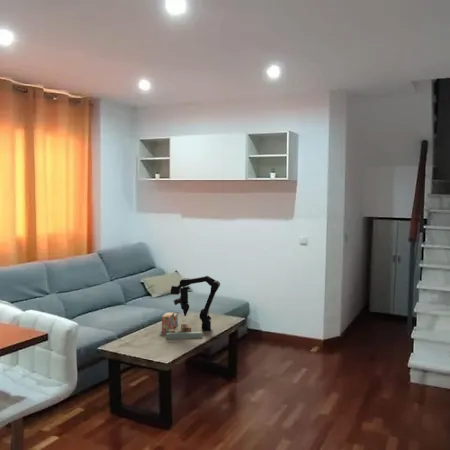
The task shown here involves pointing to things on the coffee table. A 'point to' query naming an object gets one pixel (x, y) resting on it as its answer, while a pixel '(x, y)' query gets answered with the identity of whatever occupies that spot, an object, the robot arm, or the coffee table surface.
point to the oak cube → (171, 331)
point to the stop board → (184, 335)
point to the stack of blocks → (169, 321)
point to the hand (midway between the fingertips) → (184, 314)
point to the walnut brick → (185, 328)
